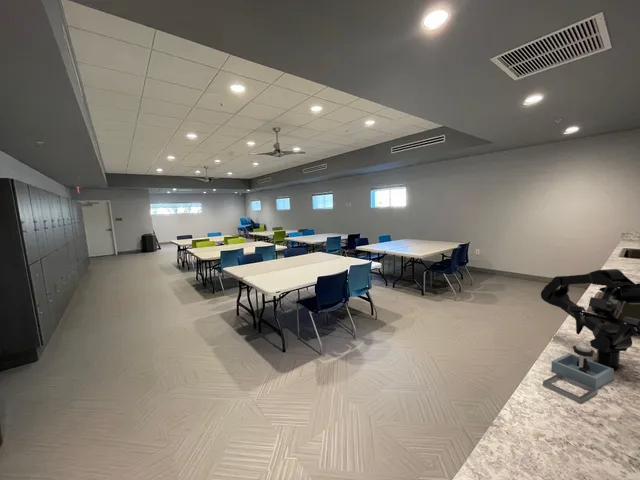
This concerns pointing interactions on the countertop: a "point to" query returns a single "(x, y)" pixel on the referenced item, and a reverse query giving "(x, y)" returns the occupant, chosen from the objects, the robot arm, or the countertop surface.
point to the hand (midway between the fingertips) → (594, 338)
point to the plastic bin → (595, 378)
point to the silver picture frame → (578, 399)
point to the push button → (583, 357)
